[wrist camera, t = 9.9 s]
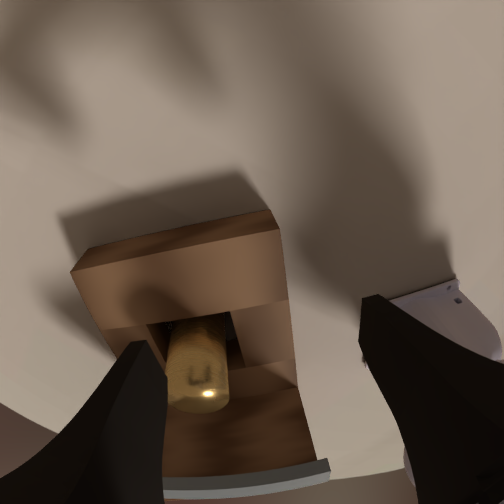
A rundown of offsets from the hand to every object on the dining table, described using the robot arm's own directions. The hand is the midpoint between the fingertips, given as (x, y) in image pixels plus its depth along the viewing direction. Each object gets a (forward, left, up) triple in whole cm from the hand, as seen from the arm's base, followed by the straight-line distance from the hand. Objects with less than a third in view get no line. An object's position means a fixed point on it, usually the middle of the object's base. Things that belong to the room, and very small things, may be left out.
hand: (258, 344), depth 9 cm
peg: (+4, +6, -9) cm, 12 cm away
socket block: (+4, +6, -9) cm, 12 cm away
